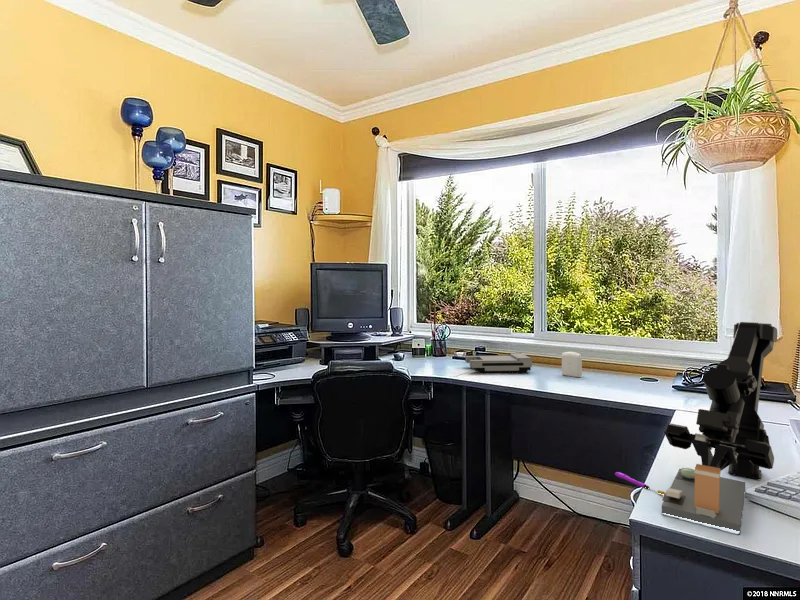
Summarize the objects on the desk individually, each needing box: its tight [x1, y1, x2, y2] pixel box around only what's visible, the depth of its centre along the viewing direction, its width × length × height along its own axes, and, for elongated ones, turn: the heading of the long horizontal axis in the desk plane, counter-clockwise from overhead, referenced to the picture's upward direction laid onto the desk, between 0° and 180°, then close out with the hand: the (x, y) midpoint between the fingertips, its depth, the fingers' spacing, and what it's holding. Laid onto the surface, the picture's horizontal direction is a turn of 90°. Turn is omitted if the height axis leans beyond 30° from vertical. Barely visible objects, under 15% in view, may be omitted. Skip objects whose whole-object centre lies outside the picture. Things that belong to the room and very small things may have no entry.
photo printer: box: [561, 351, 583, 378], centre depth 241 cm, size 10×4×12 cm, turn 39°
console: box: [661, 468, 746, 532], centre depth 102 cm, size 24×13×3 cm, turn 142°
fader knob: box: [694, 463, 722, 513], centre depth 94 cm, size 3×4×8 cm
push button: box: [680, 467, 695, 479], centre depth 109 cm, size 3×3×1 cm
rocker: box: [665, 487, 682, 498], centre depth 99 cm, size 4×2×1 cm, turn 142°
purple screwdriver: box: [614, 471, 666, 495], centre depth 109 cm, size 3×1×16 cm
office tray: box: [464, 352, 533, 374], centre depth 258 cm, size 21×32×8 cm, turn 91°
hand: (706, 480), depth 95 cm, fingers closed
